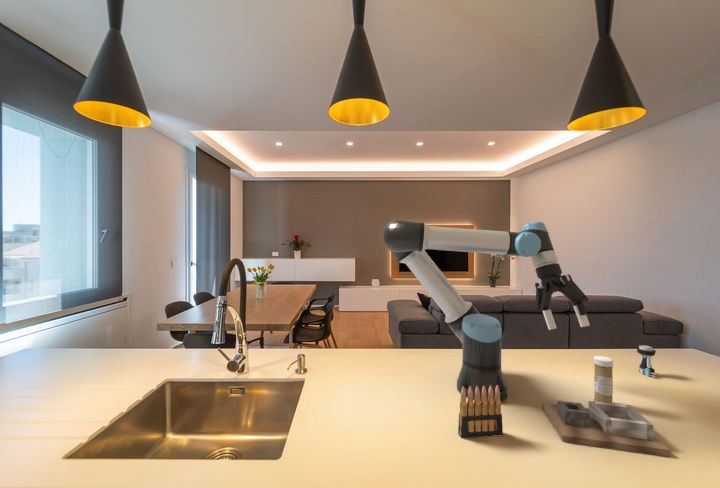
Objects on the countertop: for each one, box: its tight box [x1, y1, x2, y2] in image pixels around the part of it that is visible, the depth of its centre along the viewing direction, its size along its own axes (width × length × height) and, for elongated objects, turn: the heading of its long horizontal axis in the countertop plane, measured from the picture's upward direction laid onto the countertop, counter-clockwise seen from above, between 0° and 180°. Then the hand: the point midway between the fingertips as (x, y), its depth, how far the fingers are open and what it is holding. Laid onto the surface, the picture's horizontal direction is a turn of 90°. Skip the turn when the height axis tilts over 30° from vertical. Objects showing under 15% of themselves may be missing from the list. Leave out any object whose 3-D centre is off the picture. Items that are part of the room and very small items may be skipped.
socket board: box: [541, 400, 671, 458], centre depth 80 cm, size 21×16×5 cm
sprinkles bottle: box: [593, 355, 614, 404], centre depth 94 cm, size 5×5×14 cm
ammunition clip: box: [457, 385, 504, 439], centre depth 78 cm, size 11×2×12 cm, turn 96°
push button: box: [635, 344, 657, 378], centre depth 115 cm, size 7×5×10 cm
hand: (568, 327), depth 104 cm, fingers open, 13 cm apart
